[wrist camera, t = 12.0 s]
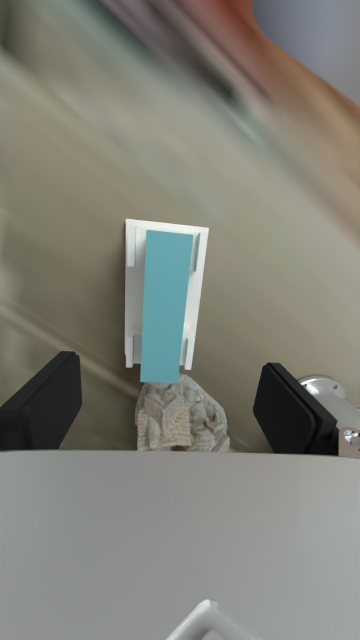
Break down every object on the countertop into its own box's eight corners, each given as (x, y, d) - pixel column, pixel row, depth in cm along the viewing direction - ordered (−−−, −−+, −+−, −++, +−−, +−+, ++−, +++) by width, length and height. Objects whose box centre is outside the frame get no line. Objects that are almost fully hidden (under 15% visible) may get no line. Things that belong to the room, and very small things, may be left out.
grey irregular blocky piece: (219, 450, 39) (249, 558, 25) (131, 442, 38) (108, 552, 23) (237, 375, 35) (285, 452, 21) (140, 364, 34) (119, 438, 20)
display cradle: (207, 228, 27) (218, 223, 21) (191, 354, 32) (197, 376, 27) (127, 219, 26) (117, 211, 20) (125, 351, 31) (117, 374, 26)
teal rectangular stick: (187, 237, 22) (193, 234, 18) (175, 362, 27) (177, 383, 23) (149, 233, 22) (146, 229, 18) (143, 360, 26) (140, 382, 22)
